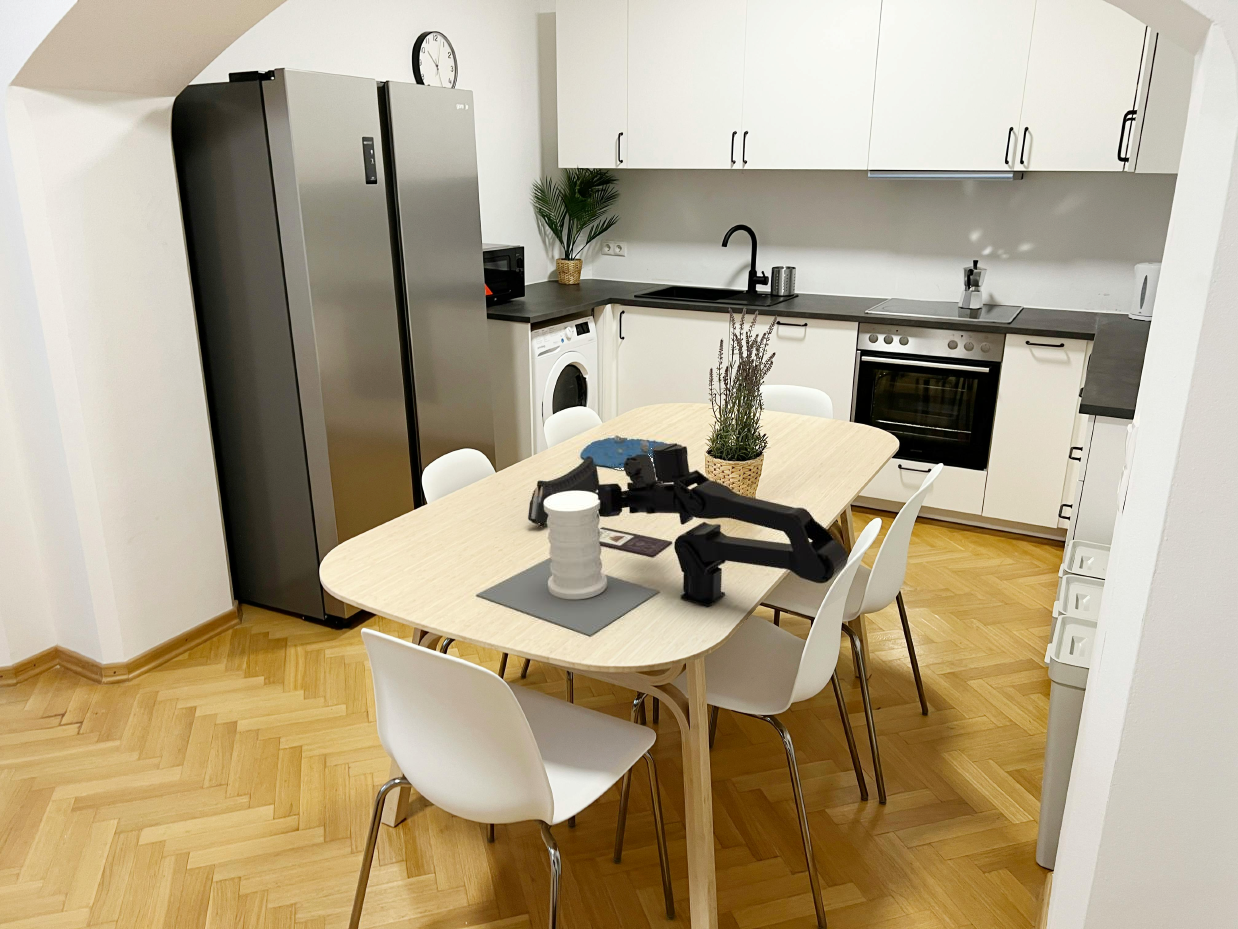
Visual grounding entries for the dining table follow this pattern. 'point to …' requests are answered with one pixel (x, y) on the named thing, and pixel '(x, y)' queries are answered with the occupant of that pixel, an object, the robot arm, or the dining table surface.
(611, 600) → the rubber mat
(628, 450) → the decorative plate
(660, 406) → the dining table surface
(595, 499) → the decorative container
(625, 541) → the chocolate bar
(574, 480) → the magazine
